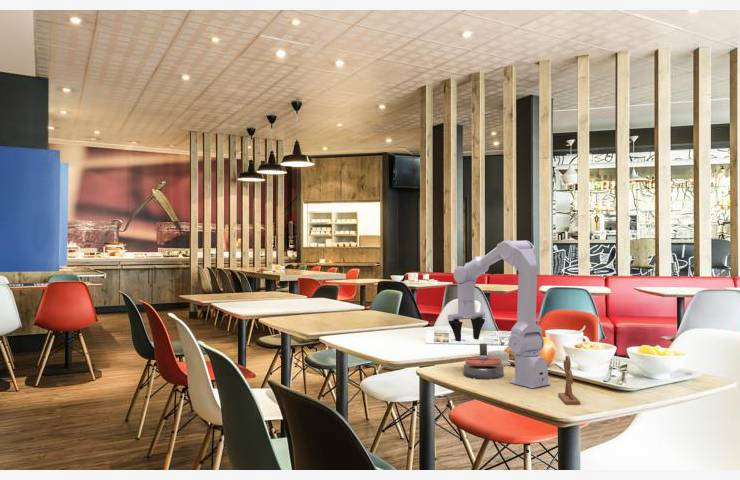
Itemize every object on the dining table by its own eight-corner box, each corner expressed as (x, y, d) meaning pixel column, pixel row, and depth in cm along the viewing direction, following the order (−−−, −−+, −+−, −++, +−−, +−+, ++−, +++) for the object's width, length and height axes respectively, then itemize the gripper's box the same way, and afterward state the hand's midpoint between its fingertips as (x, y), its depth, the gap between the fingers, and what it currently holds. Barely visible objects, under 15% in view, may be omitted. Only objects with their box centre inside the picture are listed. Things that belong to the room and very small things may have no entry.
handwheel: (501, 368, 177) (500, 349, 177) (464, 367, 179) (464, 348, 180) (501, 361, 188) (500, 343, 188) (466, 361, 191) (466, 343, 191)
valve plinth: (512, 375, 182) (512, 366, 182) (482, 381, 175) (482, 371, 175) (484, 369, 193) (484, 360, 193) (455, 374, 186) (455, 364, 186)
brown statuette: (580, 405, 146) (579, 358, 146) (565, 404, 146) (563, 358, 146) (572, 396, 154) (571, 352, 155) (558, 396, 155) (556, 352, 155)
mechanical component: (486, 361, 209) (483, 366, 199) (485, 349, 209) (483, 353, 199) (513, 362, 206) (512, 367, 196) (513, 350, 206) (512, 354, 196)
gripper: (476, 299, 201) (477, 337, 200) (442, 301, 194) (443, 340, 194) (488, 300, 194) (489, 339, 194) (453, 302, 188) (455, 343, 188)
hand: (467, 340), depth 194 cm, fingers open, 7 cm apart
